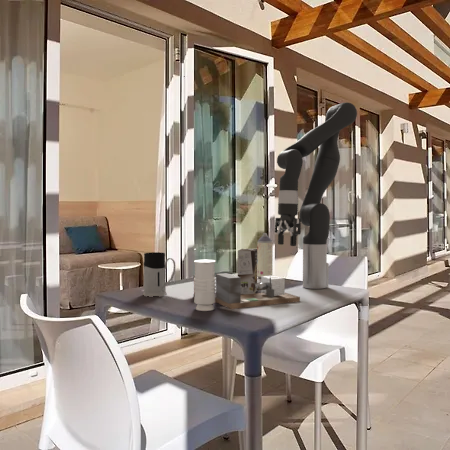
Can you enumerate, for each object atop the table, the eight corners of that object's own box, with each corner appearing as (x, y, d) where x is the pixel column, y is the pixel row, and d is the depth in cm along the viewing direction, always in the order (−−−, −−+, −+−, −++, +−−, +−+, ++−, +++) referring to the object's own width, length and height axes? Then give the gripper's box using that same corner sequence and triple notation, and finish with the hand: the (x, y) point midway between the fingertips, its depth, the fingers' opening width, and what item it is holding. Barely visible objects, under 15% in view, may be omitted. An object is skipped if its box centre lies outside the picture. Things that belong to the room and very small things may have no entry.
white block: (273, 291, 159) (273, 275, 158) (284, 294, 152) (284, 278, 152) (252, 293, 155) (252, 277, 155) (262, 296, 149) (262, 280, 148)
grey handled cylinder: (154, 291, 171) (154, 251, 170) (183, 295, 163) (183, 253, 162) (137, 294, 164) (137, 253, 163) (166, 299, 155) (166, 256, 155)
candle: (198, 312, 137) (198, 262, 136) (190, 307, 143) (190, 260, 143) (219, 309, 140) (219, 261, 139) (211, 305, 146) (210, 259, 145)
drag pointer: (269, 295, 151) (269, 276, 151) (274, 296, 148) (274, 278, 148) (266, 295, 150) (266, 277, 150) (271, 297, 148) (271, 278, 147)
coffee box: (254, 295, 163) (254, 250, 163) (237, 294, 165) (237, 250, 164) (257, 290, 172) (257, 248, 172) (241, 289, 173) (241, 248, 173)
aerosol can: (261, 275, 209) (261, 232, 208) (274, 277, 205) (275, 233, 204) (254, 277, 203) (254, 233, 202) (268, 279, 199) (268, 233, 199)
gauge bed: (280, 295, 163) (280, 268, 162) (299, 301, 152) (300, 273, 152) (214, 301, 152) (214, 273, 151) (230, 309, 141) (230, 278, 140)
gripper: (307, 203, 167) (305, 246, 168) (286, 203, 180) (284, 243, 181) (290, 202, 164) (288, 246, 165) (269, 202, 177) (268, 243, 177)
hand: (286, 245), depth 173 cm, fingers open, 8 cm apart
